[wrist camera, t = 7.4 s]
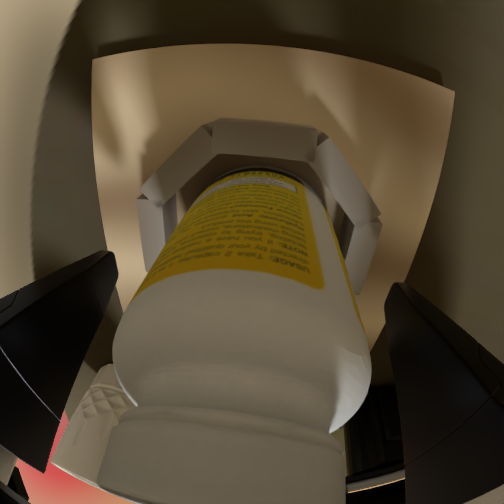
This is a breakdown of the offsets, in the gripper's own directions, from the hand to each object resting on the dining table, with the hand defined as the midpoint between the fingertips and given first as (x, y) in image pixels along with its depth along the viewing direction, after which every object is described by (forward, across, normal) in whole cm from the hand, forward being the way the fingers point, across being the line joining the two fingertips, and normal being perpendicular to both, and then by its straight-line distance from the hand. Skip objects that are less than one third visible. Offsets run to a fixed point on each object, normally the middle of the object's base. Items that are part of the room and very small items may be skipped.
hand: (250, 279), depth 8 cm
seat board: (+4, 0, 0) cm, 4 cm away
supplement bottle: (+3, 0, 0) cm, 3 cm away
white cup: (+4, +9, +16) cm, 19 cm away
